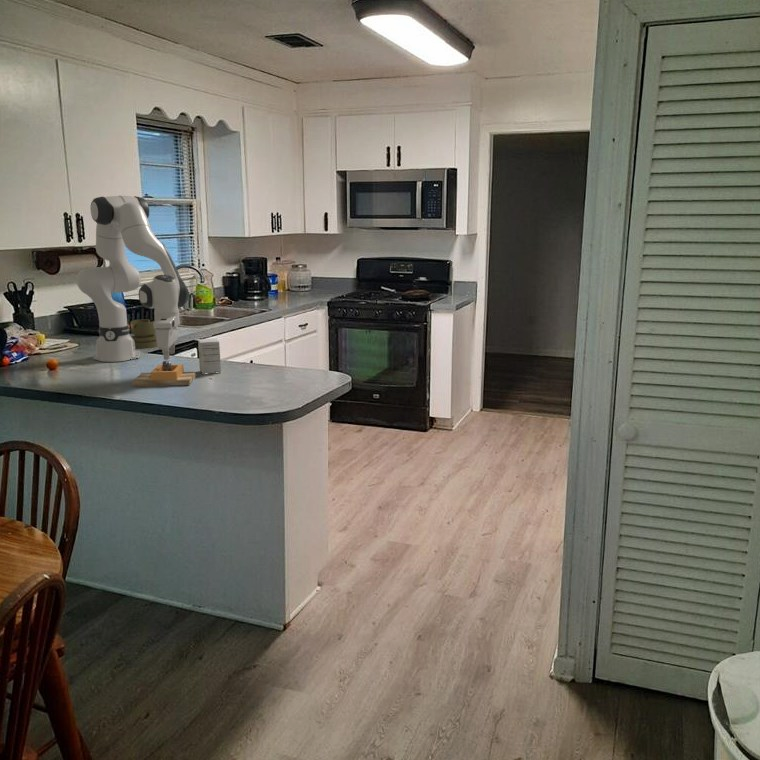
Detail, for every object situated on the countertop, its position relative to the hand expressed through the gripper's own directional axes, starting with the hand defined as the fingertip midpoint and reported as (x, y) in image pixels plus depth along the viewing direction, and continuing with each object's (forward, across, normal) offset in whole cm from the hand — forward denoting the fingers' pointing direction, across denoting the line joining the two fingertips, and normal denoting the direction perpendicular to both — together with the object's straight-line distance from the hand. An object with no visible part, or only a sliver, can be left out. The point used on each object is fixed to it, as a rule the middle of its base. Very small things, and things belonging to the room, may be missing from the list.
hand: (169, 356), depth 266 cm
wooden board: (+8, +7, 0) cm, 10 cm away
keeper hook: (+6, +7, 0) cm, 9 cm away
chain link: (+6, +6, 0) cm, 9 cm away
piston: (+11, -68, -25) cm, 73 cm away
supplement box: (+8, -8, +14) cm, 18 cm away
